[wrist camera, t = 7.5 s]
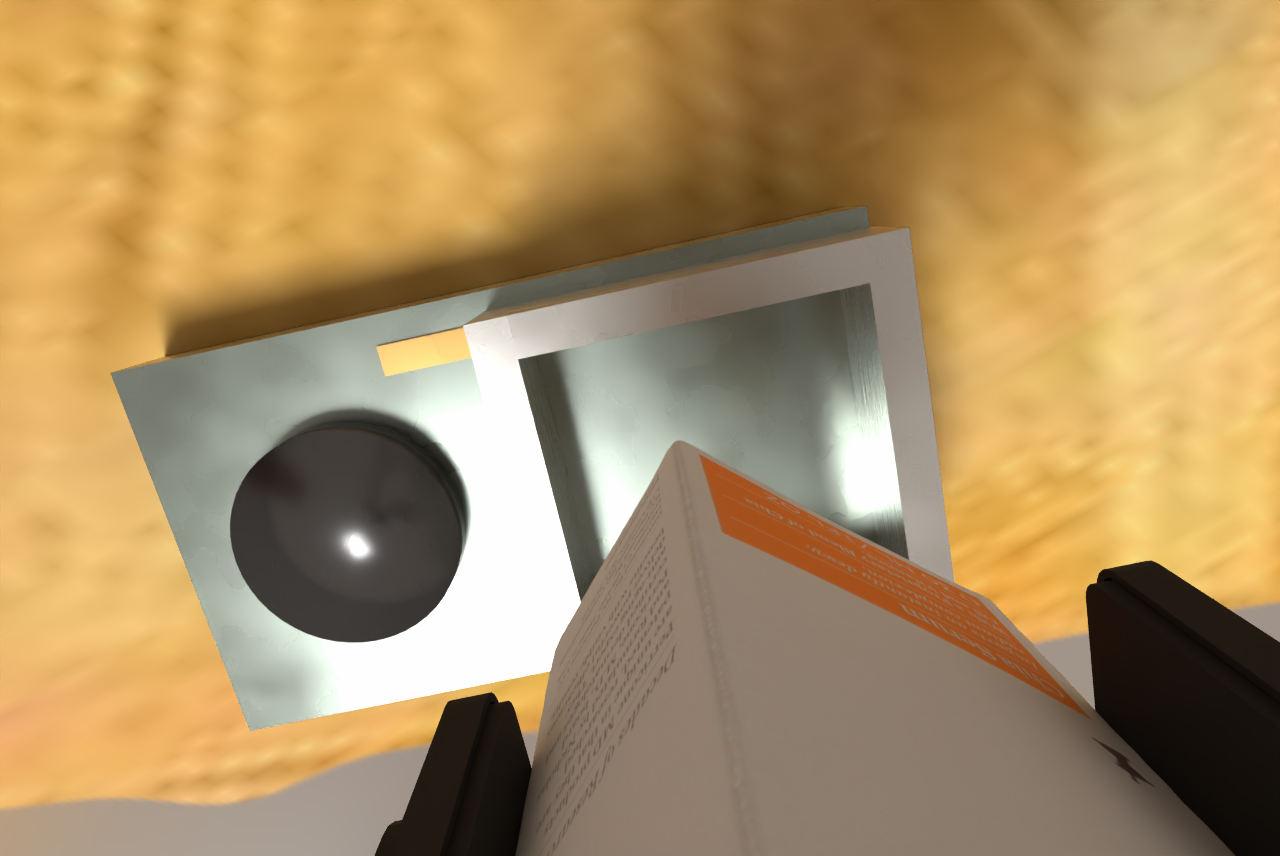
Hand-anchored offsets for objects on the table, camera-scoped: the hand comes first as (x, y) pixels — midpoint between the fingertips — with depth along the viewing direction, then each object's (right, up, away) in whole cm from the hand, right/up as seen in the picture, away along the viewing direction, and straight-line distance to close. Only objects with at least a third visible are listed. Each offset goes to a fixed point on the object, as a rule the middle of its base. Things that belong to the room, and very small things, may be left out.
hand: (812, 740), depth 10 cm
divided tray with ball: (-5, +3, +15) cm, 16 cm away
